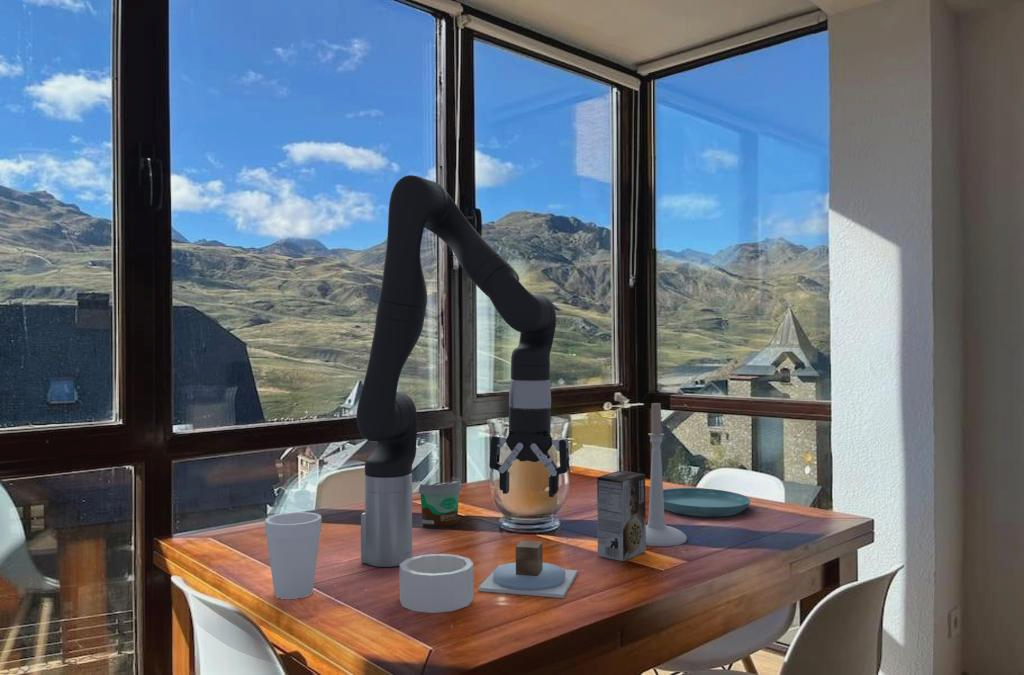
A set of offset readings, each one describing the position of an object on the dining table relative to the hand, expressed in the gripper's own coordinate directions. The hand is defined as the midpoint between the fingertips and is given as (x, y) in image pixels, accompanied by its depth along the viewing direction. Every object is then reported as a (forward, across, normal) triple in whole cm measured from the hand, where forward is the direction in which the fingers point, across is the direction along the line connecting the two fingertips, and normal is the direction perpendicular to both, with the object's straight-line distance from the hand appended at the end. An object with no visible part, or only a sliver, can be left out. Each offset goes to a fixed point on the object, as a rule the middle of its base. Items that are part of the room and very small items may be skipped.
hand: (528, 494), depth 139 cm
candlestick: (+16, +20, +36) cm, 44 cm away
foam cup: (+16, -38, -16) cm, 44 cm away
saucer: (+16, +29, +69) cm, 77 cm away
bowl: (+16, -13, -13) cm, 24 cm away
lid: (+15, 0, 0) cm, 15 cm away
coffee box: (+16, +14, +22) cm, 31 cm away
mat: (+16, 0, 0) cm, 16 cm away
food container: (+17, -29, +37) cm, 50 cm away
